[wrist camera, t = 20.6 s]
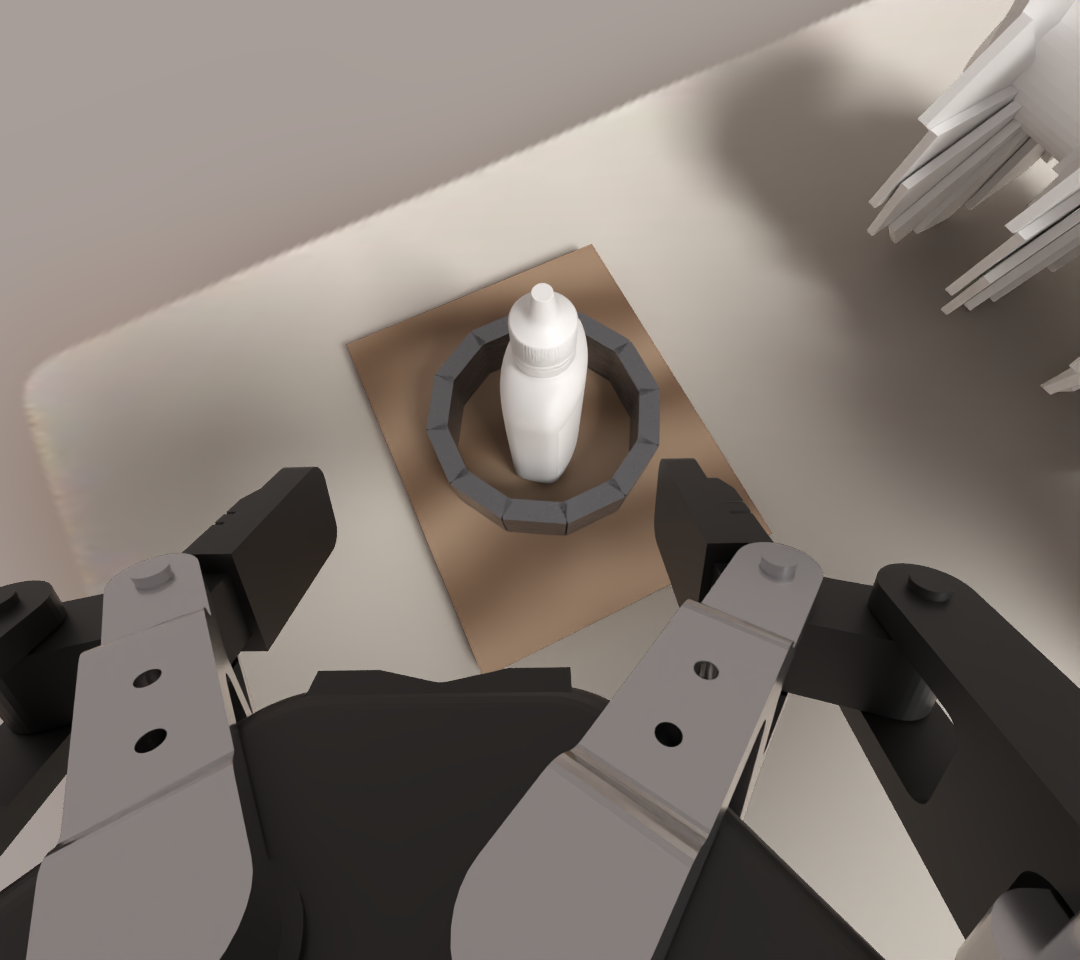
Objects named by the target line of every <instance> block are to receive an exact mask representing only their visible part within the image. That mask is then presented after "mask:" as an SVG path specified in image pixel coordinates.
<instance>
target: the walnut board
mask: <svg viewBox="0 0 1080 960" xmlns="http://www.w3.org/2000/svg"><path fill="white" fill-rule="evenodd" d="M539 283H546V284H548V285H550V286H551V287H552V289H553V292H557V293H560V294H561V295H563V296H565V297H566V298H568V300H570V301H571V303H573V306H575V309H576V311H577V312H580V315H581V313H584V314H585V315H587V316H589V317H591V318H592V319H594V320H596V321H598V322H599V323H601V324H603V325H605V326H606V327H608V328H610V329H612V330H613V331H615V332H617V333H619V334H620V335H622V336H624V337H626V338H627V339H629V340H630V342H631V341H632V343H633V345H634V346H635V348H636V350H637V351H638V353H639V355H640V356H641V358H642V360H643V361H644V363H645V365H646V366H647V368H648V369H649V371H650V373H651V374H652V376H653V378H654V379H655V381H656V383H657V384H658V386H659V389H660V438H659V447H658V449H657V451H656V452H655V454H654V456H653V457H652V459H651V461H650V463H649V464H648V466H647V468H646V469H645V471H644V472H643V474H642V475H641V477H640V478H639V480H638V481H637V483H636V484H635V486H634V487H633V489H632V490H631V492H630V493H629V495H628V496H627V498H626V499H625V501H624V502H623V504H622V505H621V507H620V508H619V510H617V512H615V513H613V514H611V515H609V516H607V517H605V518H603V519H600V520H598V521H596V522H594V523H592V524H590V525H588V526H586V527H584V528H582V529H579V530H577V531H575V532H573V533H571V534H569V535H567V536H566V534H565V536H557V535H543V534H530V533H517V532H508V531H505V530H504V529H502V528H501V527H499V526H498V525H497V524H495V523H494V522H492V521H491V520H489V519H488V518H486V517H485V516H483V515H482V514H480V513H479V512H478V511H476V510H475V509H473V508H472V507H470V506H469V505H467V504H466V503H464V502H463V501H462V500H461V499H460V498H459V496H458V495H457V493H456V492H455V491H454V489H453V488H452V486H451V485H450V483H449V481H448V479H447V477H446V474H445V472H444V470H443V468H442V465H441V463H440V461H439V459H438V456H437V454H436V452H435V449H434V447H433V445H432V443H431V440H430V438H429V436H428V434H427V430H426V426H427V420H428V414H429V407H430V401H431V395H432V388H433V382H434V376H435V375H436V374H435V373H436V372H437V371H438V370H439V369H440V367H441V366H442V365H443V364H444V363H445V361H446V360H447V359H448V358H449V357H450V355H451V354H452V353H453V352H454V351H455V349H456V348H457V347H458V346H459V345H460V343H461V342H462V341H463V340H464V338H465V337H466V336H467V335H468V334H469V332H471V333H472V330H474V329H477V328H479V327H482V326H484V325H486V324H489V323H491V322H494V321H496V320H498V319H501V318H503V317H505V316H508V315H509V312H510V311H511V310H510V309H511V308H512V306H513V305H514V303H515V302H516V301H517V300H519V298H521V297H522V296H524V295H525V294H527V293H530V292H531V291H532V288H533V287H534V286H535V285H537V284H539ZM347 347H348V350H349V352H350V355H351V357H352V360H353V362H354V364H355V367H356V369H357V372H358V374H359V377H360V379H361V382H362V384H363V386H364V389H365V391H366V394H367V396H368V399H369V401H370V403H371V406H372V408H373V411H374V413H375V416H376V418H377V420H378V423H379V425H380V428H381V430H382V433H383V435H384V437H385V440H386V442H387V445H388V447H389V450H390V452H391V455H392V457H393V459H394V462H395V464H396V467H397V469H398V472H399V474H400V476H401V479H402V481H403V484H404V486H405V489H406V491H407V493H408V496H409V498H410V501H411V503H412V506H413V508H414V510H415V513H416V515H417V518H418V520H419V523H420V525H421V528H422V530H423V532H424V535H425V537H426V540H427V542H428V545H429V547H430V549H431V552H432V554H433V557H434V559H435V562H436V564H437V566H438V569H439V571H440V574H441V576H442V579H443V581H444V583H445V586H446V588H447V591H448V593H449V596H450V598H451V601H452V603H453V605H454V608H455V610H456V613H457V615H458V618H459V620H460V622H461V625H462V627H463V630H464V632H465V635H466V637H467V639H468V642H469V644H470V647H471V649H472V652H473V654H474V656H475V659H476V661H477V664H478V666H479V669H480V671H481V674H484V673H489V672H493V671H498V670H500V669H502V668H504V667H506V666H508V665H510V664H512V663H514V662H516V661H518V660H520V659H522V658H524V657H526V656H528V655H530V654H532V653H534V652H536V651H538V650H540V649H542V648H544V647H546V646H548V645H550V644H552V643H554V642H556V641H558V640H560V639H562V638H564V637H566V636H568V635H570V634H572V633H574V632H576V631H578V630H580V629H582V628H584V627H586V626H588V625H590V624H592V623H594V622H596V621H598V620H600V619H602V618H604V617H606V616H608V615H610V614H612V613H614V612H616V611H618V610H620V609H622V608H624V607H626V606H628V605H630V604H632V603H634V602H636V601H638V600H640V599H642V598H644V597H646V596H648V595H650V594H652V593H654V592H656V591H658V590H660V589H662V588H664V587H666V586H668V585H670V584H671V582H670V579H669V576H668V574H667V571H666V568H665V565H664V562H663V559H662V557H661V554H660V551H659V548H658V545H657V542H656V538H655V531H654V513H655V502H656V491H657V480H658V470H659V464H660V461H661V459H667V458H695V460H696V461H697V463H698V464H699V466H700V467H701V469H702V470H703V472H704V473H705V475H706V477H707V478H719V479H721V480H722V481H724V482H725V483H727V484H729V485H730V486H732V487H733V488H735V490H736V491H737V492H738V494H739V495H740V497H741V498H742V499H743V503H745V504H746V505H747V506H748V508H749V509H750V511H751V513H753V515H754V516H755V518H756V519H757V520H758V522H759V523H760V524H761V526H762V527H763V529H764V530H765V531H766V533H767V534H768V535H770V534H772V532H771V531H770V529H769V528H768V526H767V524H766V523H765V521H764V520H763V518H762V516H761V515H760V513H759V512H758V510H757V508H756V507H755V505H754V504H753V502H752V500H751V499H750V497H749V496H748V494H747V492H746V491H745V489H744V488H743V486H742V484H741V483H740V481H739V479H738V478H737V476H736V475H735V473H734V471H733V470H732V468H731V467H730V465H729V463H728V462H727V460H726V459H725V457H724V455H723V454H722V452H721V451H720V449H719V447H718V446H717V444H716V443H715V441H714V439H713V438H712V436H711V435H710V433H709V431H708V430H707V428H706V427H705V425H704V423H703V422H702V420H701V418H700V417H699V415H698V414H697V412H696V410H695V409H694V407H693V406H692V404H691V402H690V401H689V399H688V398H687V396H686V394H685V393H684V391H683V390H682V388H681V386H680V385H679V383H678V382H677V380H676V378H675V377H674V375H673V374H672V372H671V370H670V369H669V367H668V365H667V364H666V362H665V361H664V359H663V357H662V356H661V354H660V353H659V351H658V349H657V348H656V346H655V345H654V343H653V341H652V340H651V338H650V337H649V335H648V333H647V332H646V330H645V329H644V327H643V325H642V324H641V322H640V321H639V319H638V317H637V316H636V314H635V313H634V311H633V309H632V308H631V306H630V304H629V303H628V301H627V300H626V298H625V296H624V295H623V293H622V292H621V290H620V288H619V287H618V285H617V284H616V282H615V280H614V279H613V277H612V276H611V274H610V272H609V271H608V269H607V268H606V266H605V264H604V263H603V261H602V260H601V258H600V256H599V255H598V253H597V252H596V250H595V248H594V247H593V245H592V244H591V245H588V246H586V247H583V248H581V249H578V250H576V251H573V252H571V253H569V254H566V255H564V256H561V257H559V258H556V259H554V260H551V261H549V262H547V263H544V264H542V265H539V266H537V267H534V268H532V269H530V270H527V271H525V272H522V273H520V274H517V275H515V276H512V277H510V278H508V279H505V280H503V281H500V282H498V283H495V284H493V285H491V286H488V287H486V288H483V289H481V290H478V291H476V292H473V293H471V294H469V295H466V296H464V297H461V298H459V299H456V300H454V301H452V302H449V303H447V304H444V305H442V306H439V307H437V308H434V309H432V310H430V311H427V312H425V313H422V314H420V315H417V316H415V317H413V318H410V319H408V320H405V321H403V322H400V323H398V324H395V325H393V326H391V327H388V328H386V329H383V330H381V331H378V332H376V333H373V334H371V335H369V336H366V337H364V338H361V339H359V340H356V341H354V342H352V343H349V344H347ZM500 376H501V369H499V370H497V371H495V372H492V373H490V374H489V375H488V377H487V378H486V379H485V380H484V382H483V383H482V384H481V385H480V387H479V388H478V389H477V391H476V392H475V393H474V394H473V396H472V397H471V398H470V399H469V401H468V402H467V403H466V404H465V406H464V409H463V416H462V423H461V431H460V438H459V446H458V449H459V451H460V453H461V455H462V458H463V460H464V462H465V464H466V466H467V469H468V471H469V472H471V473H472V474H474V475H475V476H477V477H478V478H480V479H481V480H483V481H484V482H486V483H487V484H489V485H490V486H492V487H493V488H495V489H496V490H498V491H499V492H501V493H502V494H504V495H505V496H507V497H508V498H510V499H524V500H538V501H552V502H565V501H567V500H569V499H571V498H573V497H575V496H577V495H580V494H582V493H584V492H586V491H588V490H590V489H592V488H594V487H597V486H599V485H601V484H603V483H605V482H607V481H609V480H611V479H612V477H613V476H614V474H615V473H616V471H617V470H618V468H619V467H620V465H621V464H622V462H623V461H624V459H625V458H626V456H627V455H628V453H629V440H630V416H629V414H628V413H627V411H626V409H625V407H624V406H623V404H622V402H621V400H620V399H619V397H618V395H617V394H616V392H615V390H614V388H613V387H612V385H611V383H610V381H609V380H607V379H605V378H603V377H602V376H600V375H598V374H597V373H595V372H593V371H592V370H590V369H588V368H587V374H586V382H585V389H584V397H583V404H582V411H581V418H580V425H579V433H578V439H577V443H576V447H575V450H574V453H573V455H572V458H571V460H570V462H569V464H568V466H567V467H566V469H565V471H564V472H563V474H562V475H561V477H560V478H559V479H558V480H557V481H555V482H554V483H549V484H547V483H541V482H535V481H530V480H526V479H522V478H520V477H518V475H517V474H516V472H515V469H514V465H513V460H512V456H511V451H510V447H509V442H508V438H507V433H506V428H505V423H504V418H503V412H502V406H501V396H500Z"/></svg>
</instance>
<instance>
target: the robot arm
mask: <svg viewBox="0 0 1080 960" xmlns="http://www.w3.org/2000/svg"><path fill="white" fill-rule="evenodd" d="M215 523H216V524H215V525H212V526H211V527H210V528H209V529H208V530H207V531H205V532H204V533H203V534H202V535H201V536H200V537H199V538H198V539H197V540H196V541H194V542H193V543H192V544H191V545H190V546H189V547H188V548H187V549H186V550H185V551H183V552H182V553H173V554H166V555H161V556H157V557H154V558H150V559H147V560H144V561H142V562H140V563H137V564H135V565H133V566H131V567H129V568H127V569H125V570H124V571H122V572H121V573H119V574H118V575H116V576H115V577H114V578H113V579H112V580H111V581H110V582H109V583H108V584H107V586H106V587H105V589H104V594H101V595H96V596H91V597H86V598H81V599H76V600H72V601H66V602H61V601H60V599H59V597H58V596H57V594H56V592H55V591H54V589H53V587H52V586H51V585H50V584H49V583H47V582H45V581H24V582H19V583H14V584H10V585H6V586H3V587H0V717H1V719H2V720H3V721H4V722H3V723H2V725H0V856H1V855H2V854H3V852H4V851H5V850H6V849H7V847H8V846H9V845H10V844H11V842H12V841H13V840H14V839H15V837H16V836H17V835H18V834H19V832H20V831H21V830H22V829H23V827H24V826H25V825H26V824H27V822H28V821H29V820H30V819H31V817H32V816H33V815H34V814H35V813H36V811H37V810H38V809H39V808H40V806H41V805H42V804H43V803H44V801H45V800H46V799H47V797H48V796H49V795H50V794H51V793H52V791H53V790H54V789H55V788H56V786H57V785H58V784H59V783H60V782H61V780H62V779H63V778H64V777H65V775H66V774H67V778H66V788H65V799H64V808H63V817H62V826H61V835H60V839H59V841H58V844H57V845H56V847H55V848H54V849H53V850H51V851H50V852H48V853H47V855H46V856H45V858H44V859H43V861H42V862H41V863H40V864H38V865H37V866H36V867H34V868H33V869H32V870H30V871H29V872H27V873H26V874H24V875H23V876H22V877H21V878H19V879H17V880H16V881H15V882H13V883H12V884H10V885H9V886H8V887H6V888H5V889H3V890H2V891H1V892H0V960H885V959H884V958H883V957H882V956H881V955H880V954H879V953H878V952H877V951H876V950H875V949H874V948H873V947H872V946H871V945H870V944H869V943H868V942H867V941H866V940H865V939H864V938H863V937H862V936H861V935H860V934H858V933H857V932H856V931H855V930H854V929H853V928H852V927H851V926H850V925H849V924H848V923H847V922H846V921H845V920H844V919H843V918H842V917H841V916H840V915H839V914H838V913H837V912H836V911H835V910H834V909H833V908H832V907H831V906H830V905H829V904H828V903H827V902H826V901H825V900H824V899H823V898H822V897H820V896H819V895H818V894H817V893H816V892H815V891H814V890H813V889H812V888H811V887H810V886H809V885H808V884H807V883H806V882H805V881H804V880H803V879H802V878H801V877H800V876H799V875H798V874H797V873H796V872H795V871H794V870H793V869H792V868H791V867H790V866H789V865H788V864H787V863H786V862H785V861H784V860H783V859H781V858H780V857H779V856H778V855H777V854H776V853H775V852H774V851H773V850H772V849H771V848H770V847H769V846H768V845H767V844H766V843H765V842H764V841H763V840H762V839H761V838H760V837H759V836H758V835H757V834H756V833H755V832H754V831H753V830H752V829H751V828H750V827H749V826H748V825H747V824H746V823H745V822H743V819H744V816H745V813H746V810H747V808H748V805H749V802H750V799H751V796H752V793H753V789H754V786H755V783H756V780H757V778H758V775H759V772H760V769H761V767H762V764H763V761H764V759H765V756H766V754H767V751H768V749H769V746H770V743H771V741H772V738H773V736H774V733H775V731H776V728H777V725H778V723H779V720H780V718H781V715H782V712H783V710H784V707H785V705H786V702H787V700H788V697H789V694H790V693H792V694H796V695H801V696H805V697H809V698H813V699H817V700H821V701H825V702H829V703H833V704H837V705H839V706H840V708H841V710H842V712H843V714H844V716H845V718H846V720H847V721H848V723H849V725H850V727H851V729H852V731H853V733H854V734H855V736H856V738H857V740H858V742H859V744H860V745H861V747H862V749H863V751H864V753H865V755H866V757H867V758H868V760H869V762H870V764H871V766H872V768H873V770H874V771H875V773H876V775H877V777H878V779H879V781H880V783H881V784H882V786H883V788H884V790H885V792H886V794H887V795H888V797H889V799H890V801H891V803H892V805H893V807H894V808H895V810H896V812H897V814H898V816H899V818H900V820H901V821H902V823H903V825H904V827H905V829H906V831H907V833H908V834H909V836H910V838H911V840H912V842H913V844H914V845H915V847H916V849H917V851H918V853H919V855H920V857H921V858H922V860H923V862H924V864H925V866H926V868H927V870H928V871H929V873H930V875H931V877H932V879H933V881H934V883H935V884H936V886H937V888H938V890H939V892H940V894H941V896H942V897H943V899H944V901H945V903H946V905H947V907H948V908H949V910H950V912H951V914H952V916H953V918H954V920H955V921H956V923H957V925H958V927H959V929H960V931H961V933H962V934H963V936H964V938H965V942H964V943H963V944H962V946H961V947H960V948H959V949H958V952H957V954H956V957H955V960H1080V688H1078V687H1077V686H1076V685H1075V684H1074V683H1073V682H1072V681H1071V680H1070V679H1069V678H1068V677H1067V676H1066V675H1064V674H1063V673H1062V672H1061V671H1060V670H1059V669H1058V668H1057V667H1056V666H1055V665H1054V664H1053V663H1052V662H1050V661H1049V660H1048V659H1047V658H1046V657H1045V656H1044V655H1043V654H1042V653H1041V652H1040V651H1039V650H1038V649H1037V648H1035V647H1034V646H1033V645H1032V644H1031V643H1030V642H1029V641H1028V640H1027V639H1026V638H1025V637H1024V636H1023V635H1021V634H1020V633H1019V632H1018V631H1017V630H1016V629H1015V628H1014V627H1013V626H1012V625H1011V624H1010V623H1009V622H1007V621H1006V620H1005V619H1004V618H1003V617H1002V616H1001V615H1000V614H999V613H998V612H997V611H996V610H995V609H994V608H992V607H991V606H990V605H989V604H988V603H987V602H986V601H985V600H984V599H983V598H982V597H981V596H980V595H978V594H977V593H976V592H975V591H974V590H973V589H972V588H970V587H969V586H968V585H966V584H965V583H963V582H962V581H960V580H958V579H957V578H955V577H953V576H951V575H948V574H946V573H944V572H941V571H938V570H936V569H932V568H929V567H925V566H921V565H915V564H904V563H901V564H891V565H887V566H885V567H883V568H881V569H880V570H879V572H878V574H877V577H876V580H875V583H874V586H870V585H864V584H859V583H853V582H847V581H842V580H836V579H831V578H826V577H823V571H822V569H821V567H820V565H819V564H818V563H817V562H816V561H815V560H814V559H813V558H812V557H810V556H809V555H807V554H806V553H804V552H802V551H800V550H798V549H796V548H793V547H790V546H787V545H783V544H778V543H773V541H772V540H771V538H770V537H769V536H768V534H767V533H766V531H765V530H764V529H763V527H762V526H761V524H760V523H759V522H758V520H757V519H756V518H755V516H754V515H753V513H751V511H750V509H749V508H748V506H747V505H746V504H745V503H743V499H742V498H741V497H740V495H739V494H738V492H737V491H736V490H735V488H733V487H732V486H730V485H729V484H727V483H725V482H724V481H722V480H721V479H719V478H707V477H706V475H705V473H704V472H703V470H702V469H701V467H700V466H699V464H698V463H697V461H696V460H695V458H667V459H661V461H660V464H659V470H658V480H657V491H656V502H655V513H654V531H655V538H656V542H657V545H658V548H659V551H660V554H661V557H662V559H663V562H664V565H665V568H666V571H667V574H668V576H669V579H670V582H671V585H672V588H673V591H674V593H675V596H676V599H677V602H678V605H679V610H678V611H677V612H676V614H675V615H674V617H673V618H672V619H671V621H670V622H669V623H668V625H667V626H666V627H665V629H664V630H663V631H662V633H661V634H660V635H659V637H658V638H657V639H656V641H655V642H654V643H653V645H652V646H651V647H650V649H649V650H648V651H647V653H646V654H645V655H644V657H643V658H642V659H641V661H640V662H639V663H638V665H637V666H636V667H635V669H634V670H633V671H632V673H631V674H630V675H629V677H628V678H627V679H626V681H625V682H624V683H623V685H622V686H621V688H620V689H619V690H618V692H617V693H616V694H615V696H614V697H613V698H612V700H611V701H610V700H608V699H605V698H603V697H601V696H599V695H596V694H593V693H590V692H587V691H584V690H580V689H576V688H572V687H571V672H570V667H559V668H507V669H502V670H498V671H493V672H489V673H484V674H480V675H476V676H471V677H467V678H462V679H458V680H453V681H449V682H432V681H428V680H423V679H418V678H414V677H409V676H405V675H400V674H395V673H391V672H386V671H381V670H355V671H318V673H317V675H316V677H315V679H314V681H313V683H312V685H311V687H310V689H309V691H308V692H307V693H302V694H299V695H296V696H292V697H289V698H286V699H284V700H281V701H279V702H276V703H274V704H271V705H269V706H267V707H265V708H263V709H261V710H259V711H257V712H255V708H254V704H253V701H252V697H251V694H250V690H249V687H248V683H247V679H246V676H245V672H244V669H243V666H242V664H241V662H240V659H239V657H238V654H239V653H240V651H268V650H269V649H270V647H271V645H272V644H273V642H274V641H275V639H276V638H277V636H278V635H279V633H280V631H281V630H282V628H283V627H284V625H285V624H286V622H287V621H288V619H289V617H290V616H291V614H292V613H293V611H294V610H295V608H296V607H297V605H298V603H299V602H300V600H301V599H302V597H303V596H304V594H305V593H306V591H307V590H308V588H309V586H310V585H311V583H312V582H313V580H314V579H315V577H316V576H317V574H318V572H319V571H320V569H321V568H322V566H323V565H324V563H325V562H326V560H327V558H328V557H329V555H330V554H331V552H332V551H333V549H334V547H335V543H336V538H337V526H336V521H335V517H334V513H333V509H332V505H331V501H330V497H329V493H328V489H327V485H326V481H325V478H324V475H323V473H322V471H321V470H320V469H319V468H318V467H290V468H283V469H281V470H280V471H279V472H278V473H277V474H276V475H275V476H274V477H273V478H272V479H271V480H269V481H268V482H267V483H266V484H265V485H264V486H263V487H262V488H261V489H259V490H257V491H255V492H253V493H252V494H250V495H248V496H246V497H244V498H242V499H240V500H239V501H238V502H237V503H236V504H235V505H234V506H233V507H232V508H231V509H230V510H228V511H227V514H224V515H223V516H222V517H221V518H220V519H219V520H217V521H216V522H215ZM936 699H938V700H939V701H940V703H941V704H942V705H943V707H944V708H945V709H946V711H947V712H948V714H949V715H950V717H951V719H952V721H953V723H952V722H951V721H950V719H949V718H948V717H947V715H946V714H945V713H944V711H943V710H942V709H941V707H940V706H939V705H938V703H937V702H936ZM953 724H954V725H953Z"/></svg>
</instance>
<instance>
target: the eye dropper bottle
mask: <svg viewBox="0 0 1080 960" xmlns="http://www.w3.org/2000/svg"><path fill="white" fill-rule="evenodd" d="M510 310H511V311H510V312H509V315H508V329H509V337H510V341H509V344H508V346H507V349H506V351H505V355H504V358H503V363H502V368H501V376H500V396H501V406H502V412H503V418H504V423H505V428H506V433H507V438H508V442H509V447H510V451H511V456H512V460H513V465H514V469H515V472H516V474H517V475H518V477H520V478H522V479H526V480H530V481H535V482H541V483H547V484H549V483H554V482H555V481H557V480H558V479H559V478H560V477H561V475H562V474H563V472H564V471H565V469H566V467H567V466H568V464H569V462H570V460H571V458H572V455H573V453H574V450H575V447H576V443H577V439H578V433H579V425H580V418H581V411H582V404H583V397H584V389H585V382H586V374H587V364H588V350H587V341H586V336H585V332H584V328H583V325H582V323H581V321H580V319H579V318H578V315H577V311H576V309H575V306H573V303H571V301H570V300H568V298H566V297H565V296H563V295H561V294H560V293H557V292H553V289H552V287H551V286H550V285H548V284H546V283H539V284H537V285H535V286H534V287H533V288H532V291H531V292H530V293H527V294H525V295H524V296H522V297H521V298H519V300H517V301H516V302H515V303H514V305H513V306H512V308H511V309H510Z"/></svg>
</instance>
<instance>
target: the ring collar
mask: <svg viewBox="0 0 1080 960" xmlns="http://www.w3.org/2000/svg"><path fill="white" fill-rule="evenodd" d="M577 315H578V318H579V319H580V321H581V323H582V325H583V328H584V332H585V336H586V341H587V350H588V364H587V368H588V369H590V370H592V371H593V372H595V373H597V374H598V375H600V376H602V377H603V378H605V379H607V380H609V381H610V383H611V385H612V387H613V388H614V390H615V392H616V394H617V395H618V397H619V399H620V400H621V402H622V404H623V406H624V407H625V409H626V411H627V413H628V414H629V416H630V440H629V453H628V455H627V456H626V458H625V459H624V461H623V462H622V464H621V465H620V467H619V468H618V470H617V471H616V473H615V474H614V476H613V477H612V479H611V480H609V481H607V482H605V483H603V484H601V485H599V486H597V487H594V488H592V489H590V490H588V491H586V492H584V493H582V494H580V495H577V496H575V497H573V498H571V499H569V500H567V501H565V502H552V501H538V500H524V499H510V498H508V497H507V496H505V495H504V494H502V493H501V492H499V491H498V490H496V489H495V488H493V487H492V486H490V485H489V484H487V483H486V482H484V481H483V480H481V479H480V478H478V477H477V476H475V475H474V474H472V473H471V472H469V471H468V469H467V466H466V464H465V462H464V460H463V458H462V455H461V453H460V451H459V449H458V446H459V438H460V431H461V423H462V416H463V409H464V406H465V404H466V403H467V402H468V401H469V399H470V398H471V397H472V396H473V394H474V393H475V392H476V391H477V389H478V388H479V387H480V385H481V384H482V383H483V382H484V380H485V379H486V378H487V377H488V375H489V374H490V373H492V372H495V371H497V370H499V369H501V368H502V363H503V358H504V355H505V351H506V349H507V346H508V344H509V341H510V337H509V329H508V316H505V317H503V318H501V319H498V320H496V321H494V322H491V323H489V324H486V325H484V326H482V327H479V328H477V329H474V330H472V333H471V332H469V334H468V335H467V336H466V337H465V338H464V340H463V341H462V342H461V343H460V345H459V346H458V347H457V348H456V349H455V351H454V352H453V353H452V354H451V355H450V357H449V358H448V359H447V360H446V361H445V363H444V364H443V365H442V366H441V367H440V369H439V370H438V371H437V372H436V373H435V374H436V375H435V376H434V382H433V388H432V395H431V401H430V407H429V414H428V420H427V426H426V430H427V434H428V436H429V438H430V440H431V443H432V445H433V447H434V449H435V452H436V454H437V456H438V459H439V461H440V463H441V465H442V468H443V470H444V472H445V474H446V477H447V479H448V481H449V483H450V485H451V486H452V488H453V489H454V491H455V492H456V493H457V495H458V496H459V498H460V499H461V500H462V501H463V502H464V503H466V504H467V505H469V506H470V507H472V508H473V509H475V510H476V511H478V512H479V513H480V514H482V515H483V516H485V517H486V518H488V519H489V520H491V521H492V522H494V523H495V524H497V525H498V526H499V527H501V528H502V529H504V530H505V531H508V532H517V533H530V534H543V535H557V536H565V534H566V536H567V535H569V534H571V533H573V532H575V531H577V530H579V529H582V528H584V527H586V526H588V525H590V524H592V523H594V522H596V521H598V520H600V519H603V518H605V517H607V516H609V515H611V514H613V513H615V512H617V510H619V508H620V507H621V505H622V504H623V502H624V501H625V499H626V498H627V496H628V495H629V493H630V492H631V490H632V489H633V487H634V486H635V484H636V483H637V481H638V480H639V478H640V477H641V475H642V474H643V472H644V471H645V469H646V468H647V466H648V464H649V463H650V461H651V459H652V457H653V456H654V454H655V452H656V451H657V449H658V447H659V438H660V389H659V386H658V384H657V383H656V381H655V379H654V378H653V376H652V374H651V373H650V371H649V369H648V368H647V366H646V365H645V363H644V361H643V360H642V358H641V356H640V355H639V353H638V351H637V350H636V348H635V346H634V345H633V343H632V341H631V342H630V340H629V339H627V338H626V337H624V336H622V335H620V334H619V333H617V332H615V331H613V330H612V329H610V328H608V327H606V326H605V325H603V324H601V323H599V322H598V321H596V320H594V319H592V318H591V317H589V316H587V315H585V314H584V313H581V315H580V312H577Z"/></svg>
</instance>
